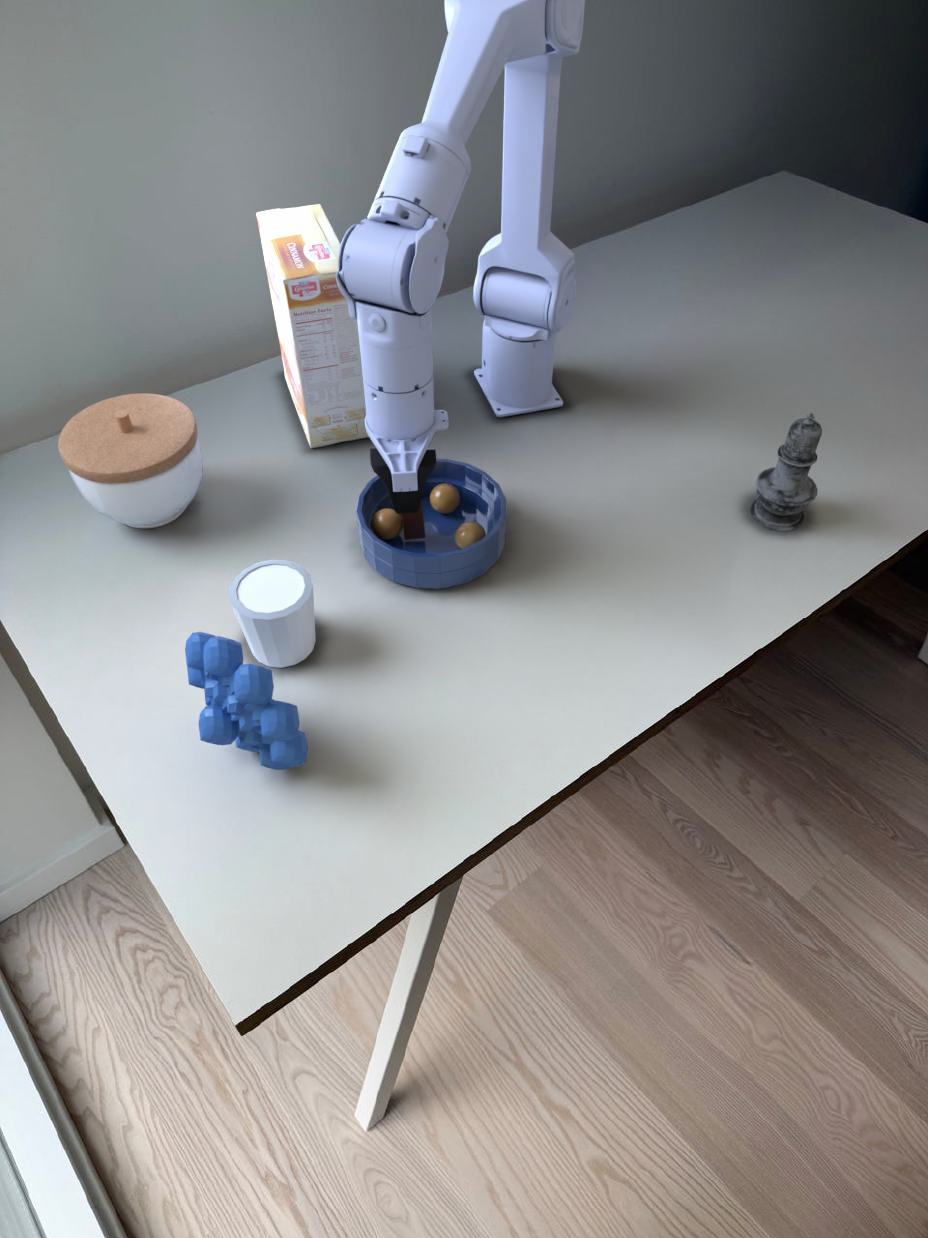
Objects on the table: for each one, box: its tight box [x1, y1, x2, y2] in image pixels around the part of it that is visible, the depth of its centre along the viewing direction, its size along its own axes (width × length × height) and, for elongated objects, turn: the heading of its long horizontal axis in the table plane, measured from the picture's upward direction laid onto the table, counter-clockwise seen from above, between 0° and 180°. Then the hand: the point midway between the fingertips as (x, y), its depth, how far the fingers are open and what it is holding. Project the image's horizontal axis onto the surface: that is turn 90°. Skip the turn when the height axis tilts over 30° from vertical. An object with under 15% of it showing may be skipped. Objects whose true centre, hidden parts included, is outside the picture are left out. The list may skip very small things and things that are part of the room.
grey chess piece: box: [749, 412, 823, 532], centre depth 85 cm, size 6×6×12 cm
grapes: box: [184, 631, 309, 771], centre depth 66 cm, size 12×7×12 cm, turn 51°
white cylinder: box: [228, 558, 317, 669], centre depth 76 cm, size 7×7×7 cm
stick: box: [401, 499, 425, 540], centre depth 82 cm, size 2×2×10 cm
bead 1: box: [372, 508, 403, 540], centre depth 86 cm, size 3×3×3 cm
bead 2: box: [430, 483, 460, 514], centre depth 88 cm, size 3×3×3 cm
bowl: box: [355, 458, 507, 589], centre depth 85 cm, size 14×14×4 cm
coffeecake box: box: [255, 203, 370, 449], centre depth 95 cm, size 15×7×20 cm, turn 18°
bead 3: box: [455, 521, 486, 549], centre depth 84 cm, size 3×3×3 cm
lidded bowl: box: [57, 392, 204, 529], centre depth 86 cm, size 13×13×11 cm
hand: (406, 501), depth 82 cm, fingers closed on stick, 2 cm apart
